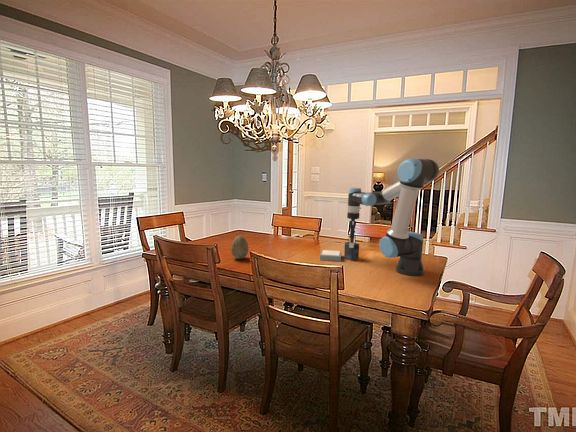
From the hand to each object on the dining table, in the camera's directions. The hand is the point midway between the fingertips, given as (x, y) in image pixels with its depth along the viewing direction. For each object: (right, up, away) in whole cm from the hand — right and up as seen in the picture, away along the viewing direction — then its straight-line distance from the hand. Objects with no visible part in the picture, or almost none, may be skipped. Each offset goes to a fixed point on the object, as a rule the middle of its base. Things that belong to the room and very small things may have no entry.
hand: (351, 244), depth 214 cm
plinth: (-13, -9, +3) cm, 16 cm away
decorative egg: (-71, -9, -4) cm, 72 cm away
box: (0, -9, +1) cm, 9 cm away
